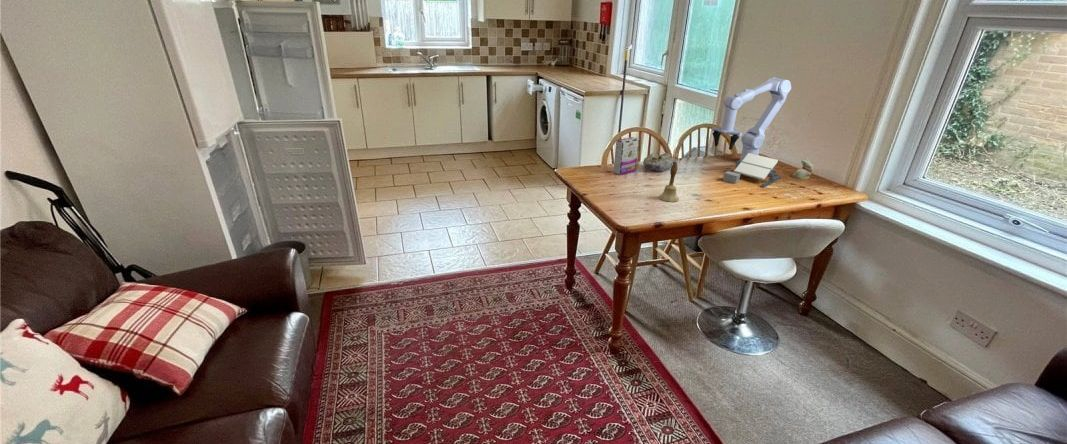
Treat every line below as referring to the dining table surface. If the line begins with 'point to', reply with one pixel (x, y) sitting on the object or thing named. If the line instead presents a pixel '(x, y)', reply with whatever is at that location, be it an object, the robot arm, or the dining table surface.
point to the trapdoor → (756, 166)
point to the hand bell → (670, 187)
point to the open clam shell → (804, 170)
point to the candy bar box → (626, 155)
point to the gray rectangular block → (731, 177)
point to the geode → (659, 162)
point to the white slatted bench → (772, 175)
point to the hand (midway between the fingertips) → (723, 147)
